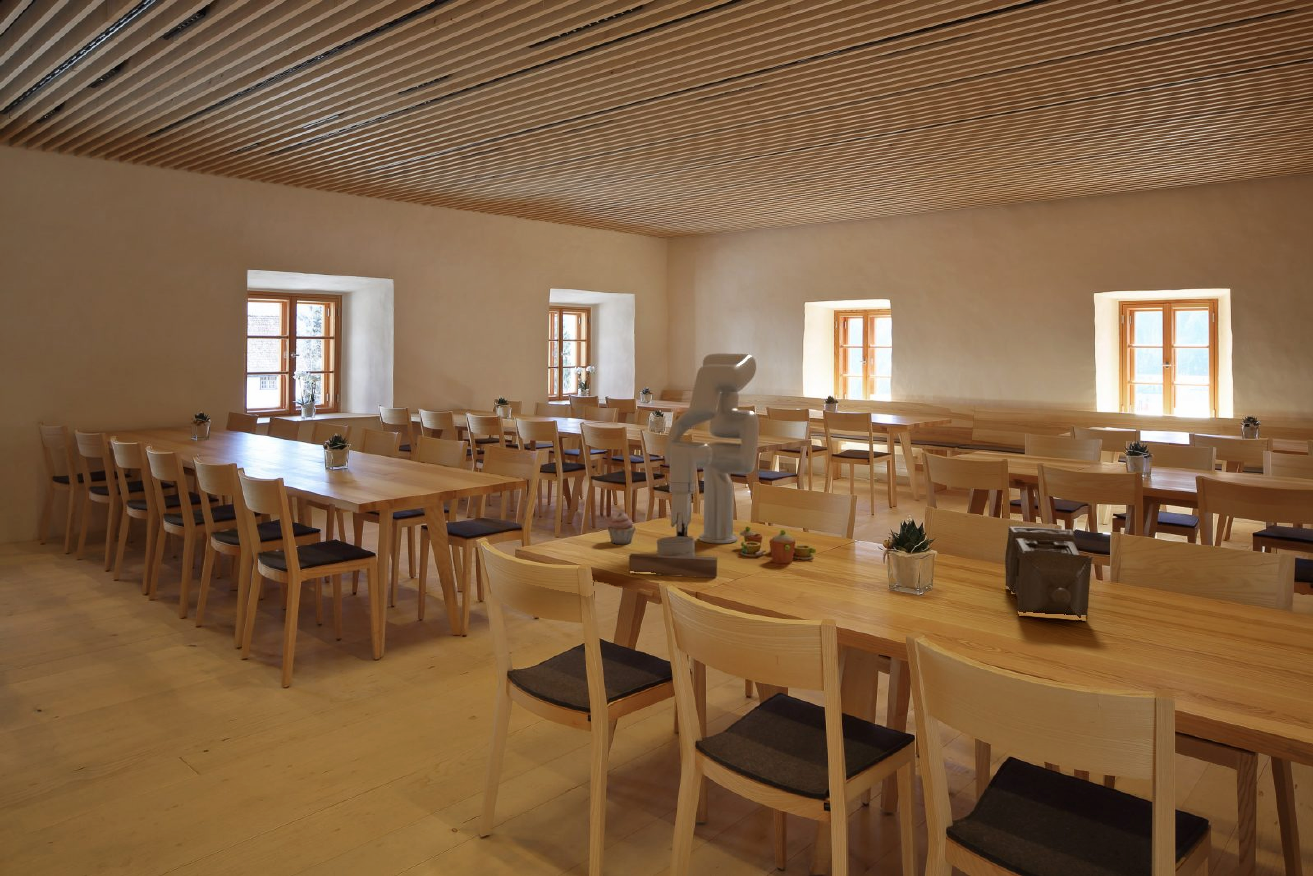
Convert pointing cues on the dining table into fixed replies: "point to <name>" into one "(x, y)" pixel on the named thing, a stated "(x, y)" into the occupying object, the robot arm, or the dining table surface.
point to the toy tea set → (775, 547)
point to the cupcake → (621, 529)
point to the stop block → (674, 565)
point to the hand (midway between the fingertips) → (681, 548)
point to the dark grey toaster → (1047, 571)
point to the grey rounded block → (676, 546)
